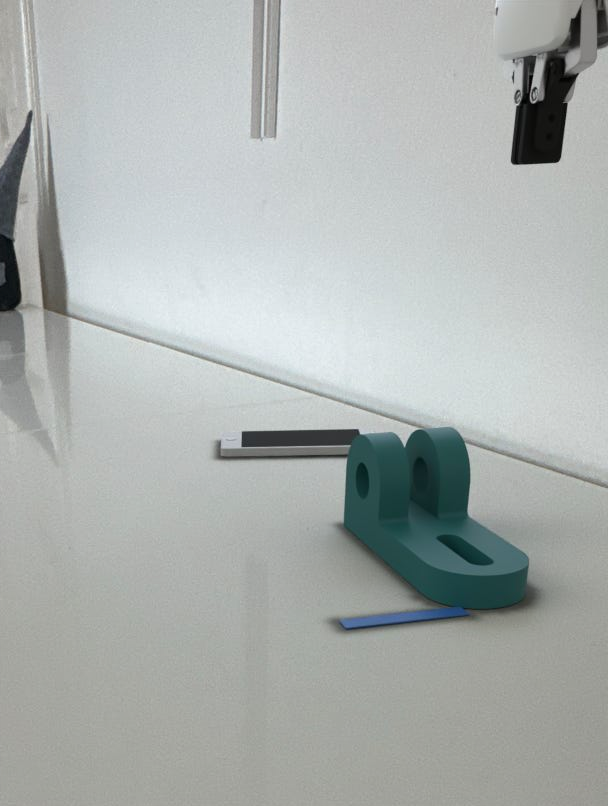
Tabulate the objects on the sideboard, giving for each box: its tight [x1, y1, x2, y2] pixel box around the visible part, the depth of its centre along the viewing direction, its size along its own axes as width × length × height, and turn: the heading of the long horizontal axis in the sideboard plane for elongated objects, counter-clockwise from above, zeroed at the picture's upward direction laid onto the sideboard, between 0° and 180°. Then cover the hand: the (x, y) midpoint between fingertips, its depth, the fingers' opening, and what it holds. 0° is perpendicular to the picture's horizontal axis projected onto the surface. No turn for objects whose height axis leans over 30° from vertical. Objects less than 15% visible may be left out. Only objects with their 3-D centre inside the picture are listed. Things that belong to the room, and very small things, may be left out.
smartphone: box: [220, 428, 376, 457], centre depth 100 cm, size 7×16×1 cm, turn 84°
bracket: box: [343, 426, 530, 610], centre depth 69 cm, size 18×7×8 cm, turn 9°
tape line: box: [338, 606, 470, 630], centre depth 62 cm, size 8×1×1 cm, turn 99°
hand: (535, 163), depth 75 cm, fingers closed
